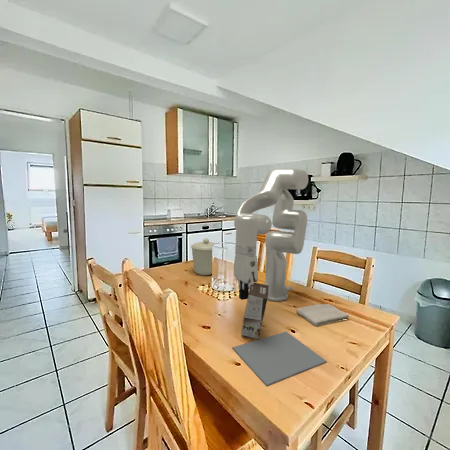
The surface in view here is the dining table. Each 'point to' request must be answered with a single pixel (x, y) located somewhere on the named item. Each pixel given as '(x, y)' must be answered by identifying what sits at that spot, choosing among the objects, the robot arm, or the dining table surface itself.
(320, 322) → the washcloth
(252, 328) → the coffee box
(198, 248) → the canister
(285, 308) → the dining table surface
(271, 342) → the mat
